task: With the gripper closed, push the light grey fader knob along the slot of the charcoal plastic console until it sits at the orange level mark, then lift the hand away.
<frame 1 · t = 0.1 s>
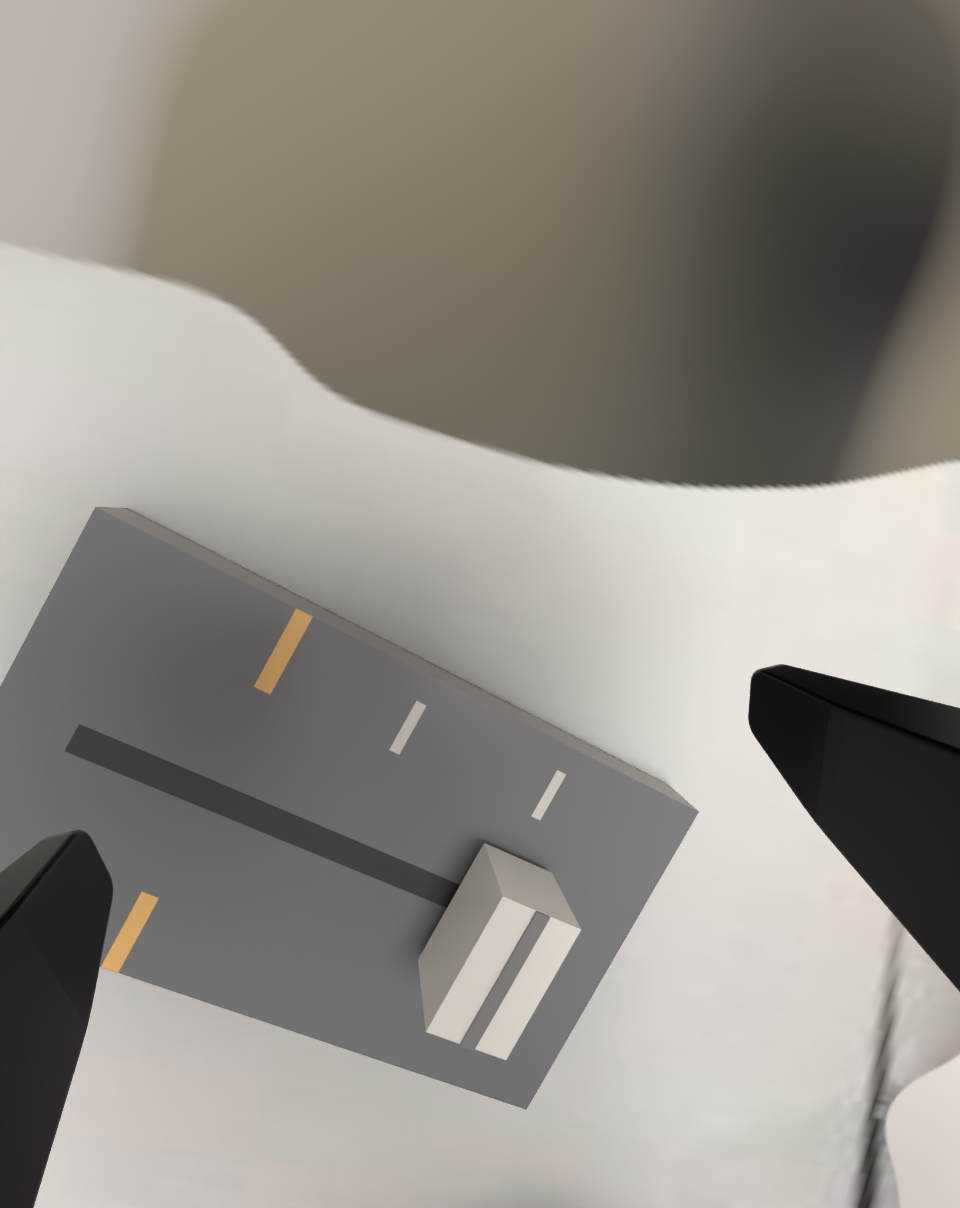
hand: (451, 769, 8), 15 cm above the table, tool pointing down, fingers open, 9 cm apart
fader knob: (494, 946, 21), point 5 cm above the table, slide at -6.0 cm
console: (343, 815, 24), on the table
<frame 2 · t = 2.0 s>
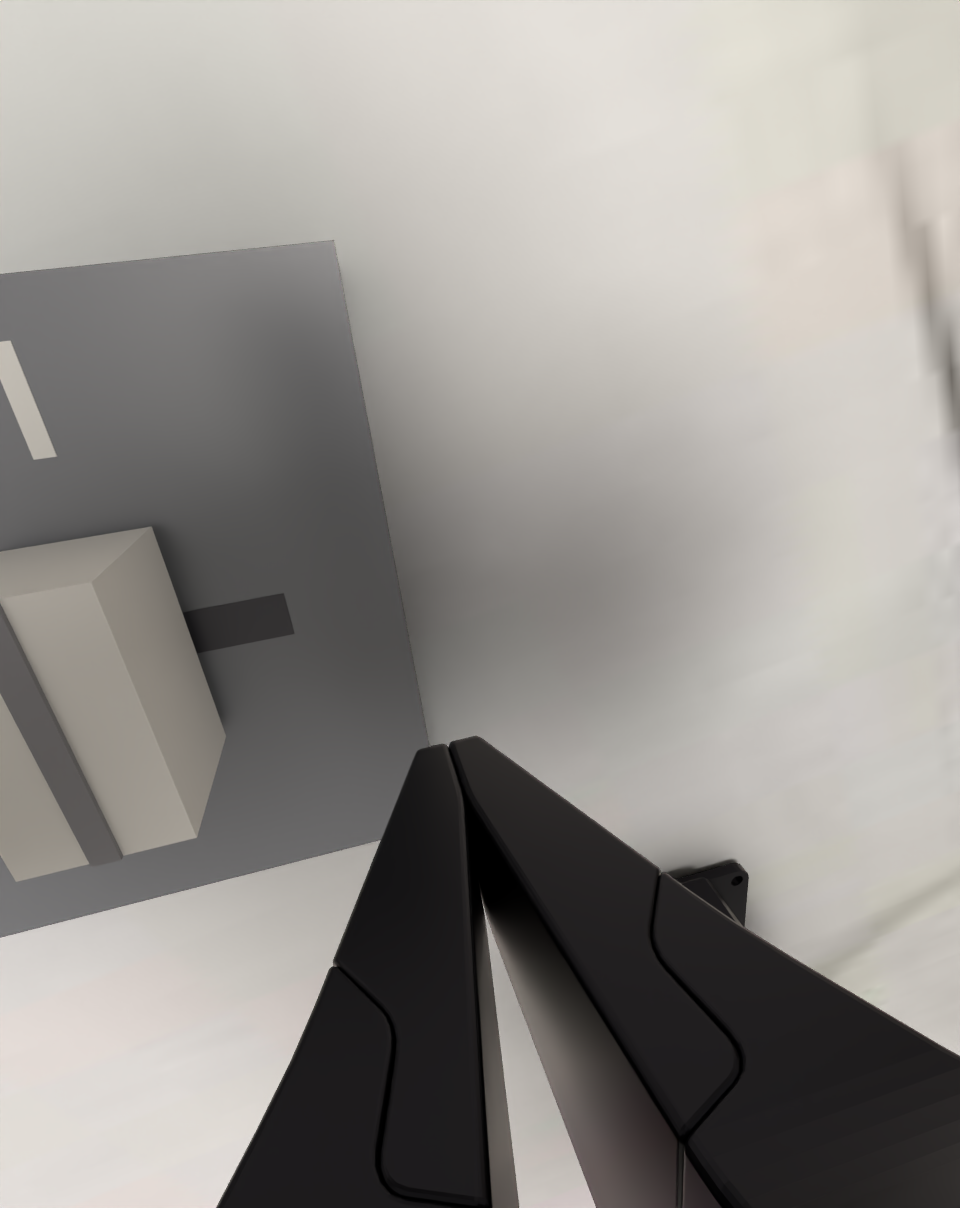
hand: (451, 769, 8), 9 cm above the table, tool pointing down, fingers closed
fader knob: (86, 694, 11), point 5 cm above the table, slide at -6.0 cm
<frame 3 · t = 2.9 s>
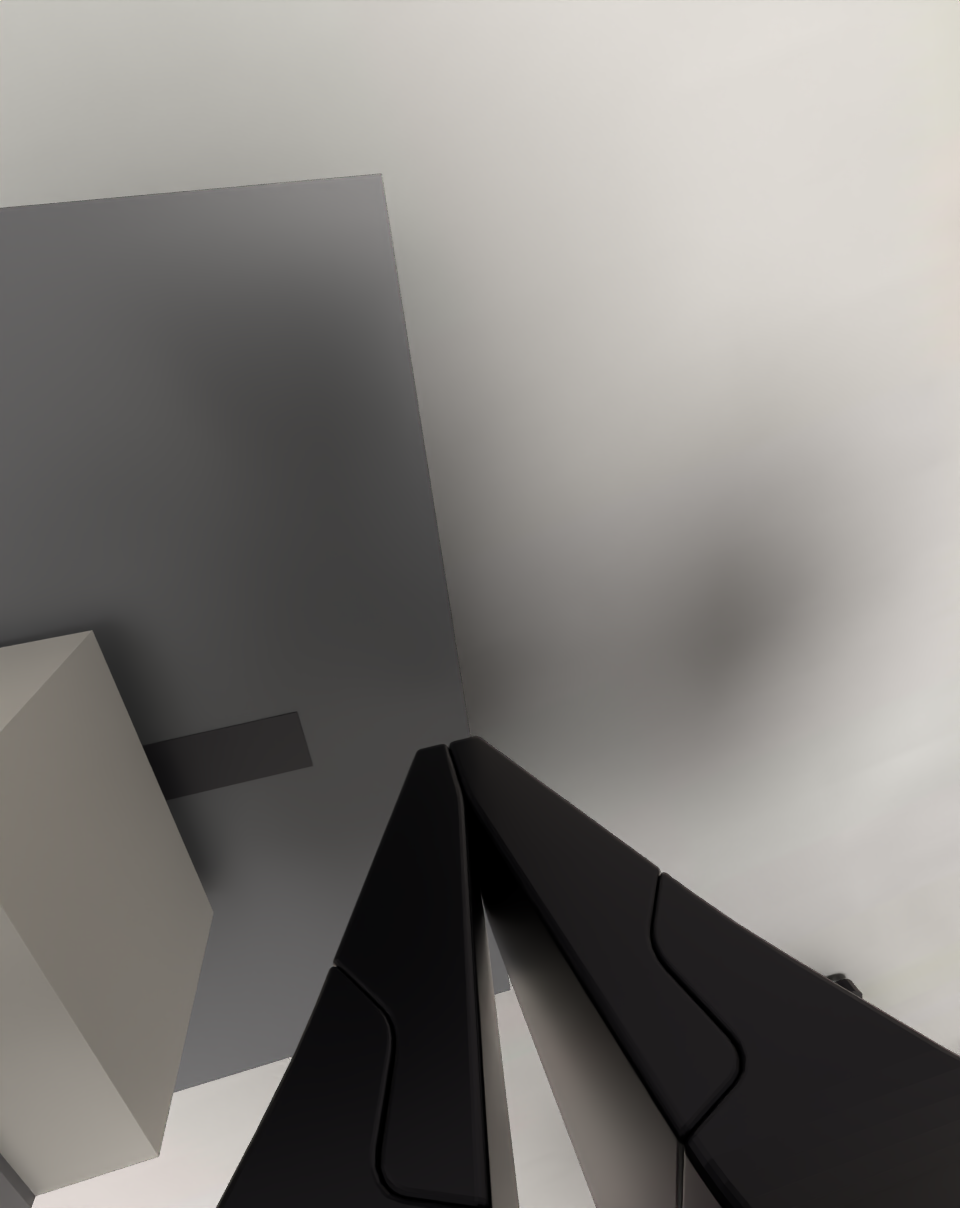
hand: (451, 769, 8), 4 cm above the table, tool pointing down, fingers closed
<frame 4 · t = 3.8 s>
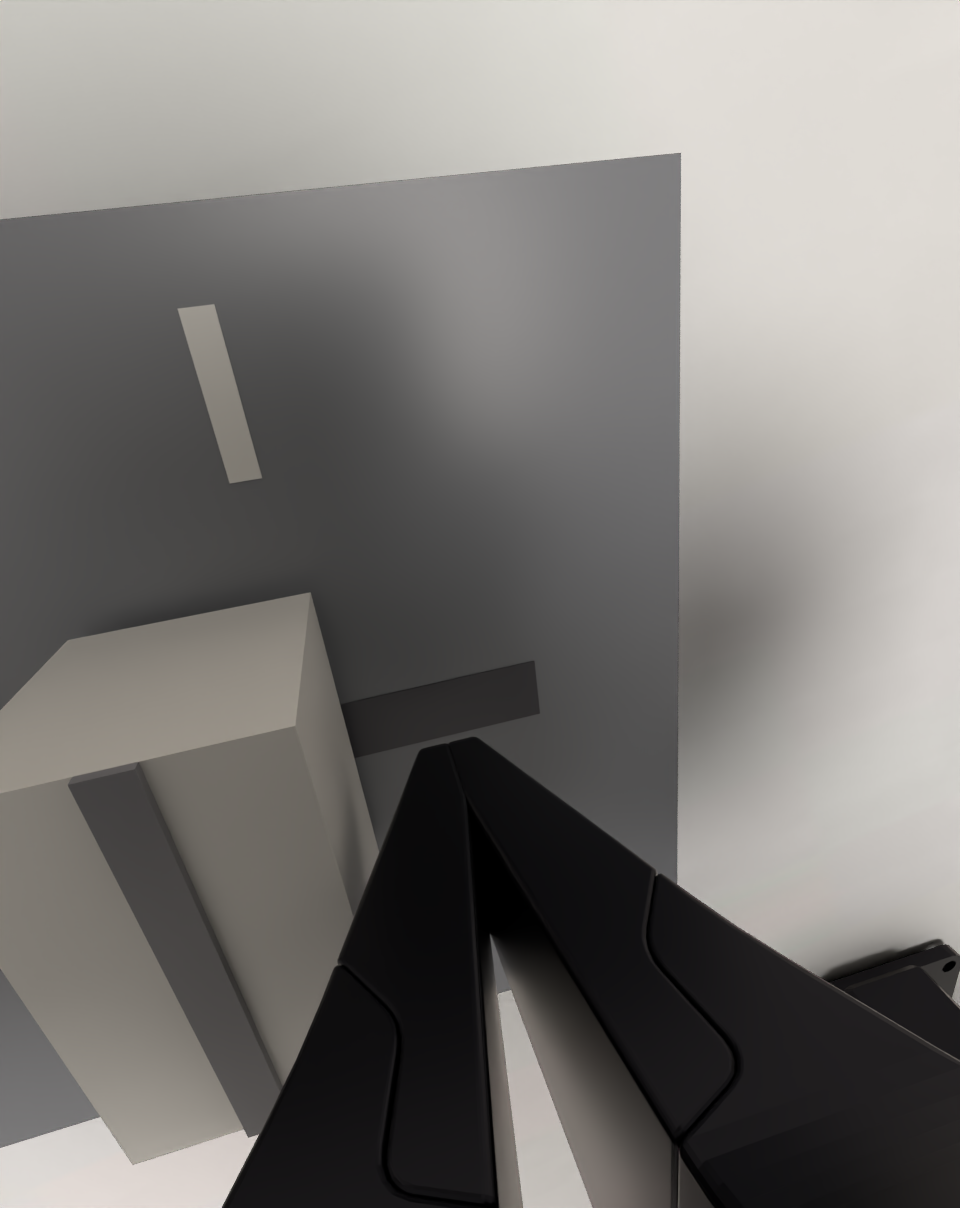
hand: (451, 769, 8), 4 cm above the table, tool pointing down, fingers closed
fader knob: (229, 855, 7), point 5 cm above the table, slide at -5.0 cm, touching gripper
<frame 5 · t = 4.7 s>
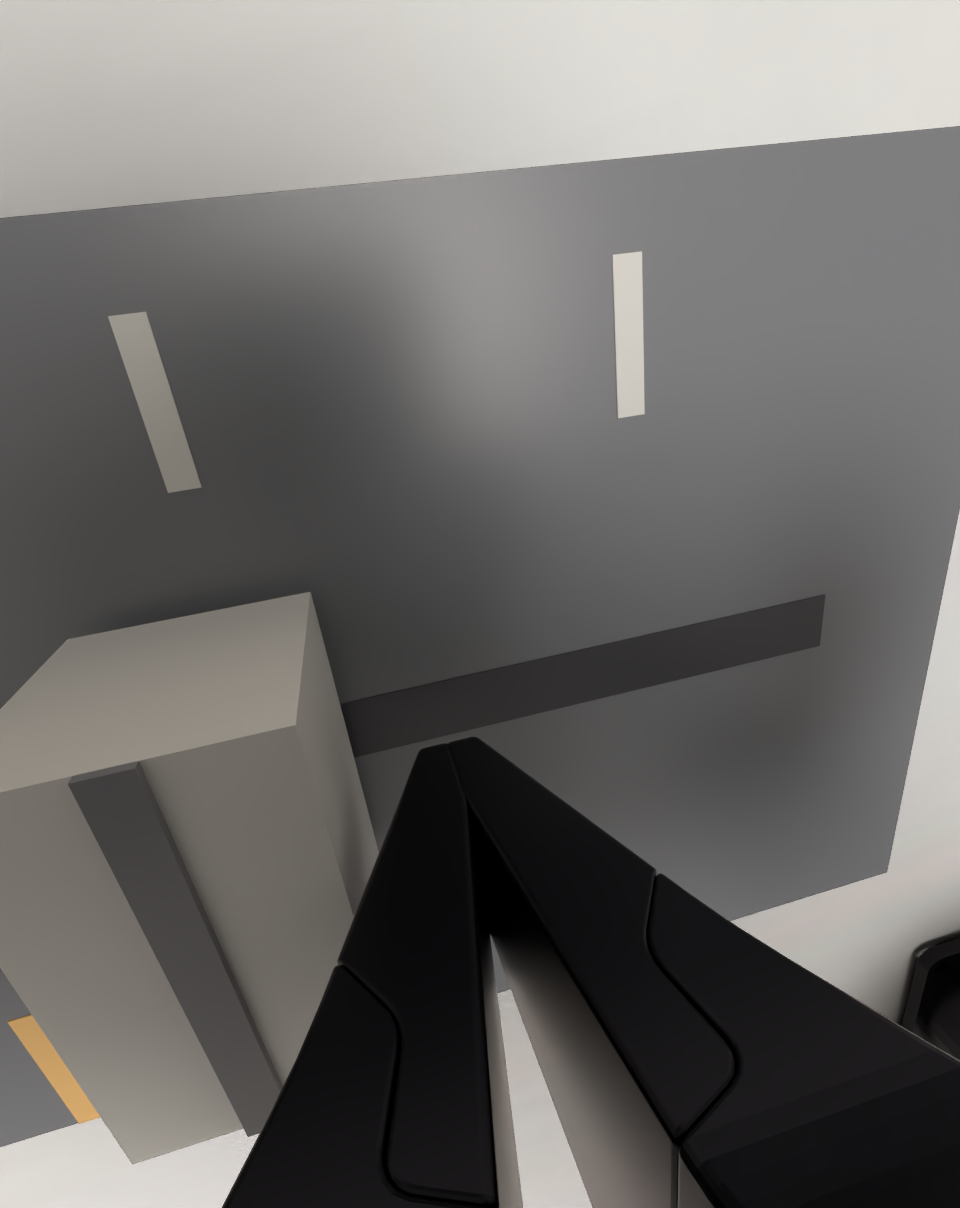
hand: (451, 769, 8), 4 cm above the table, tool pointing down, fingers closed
fader knob: (229, 854, 7), point 5 cm above the table, slide at 0.3 cm, touching gripper
console: (283, 671, 11), on the table
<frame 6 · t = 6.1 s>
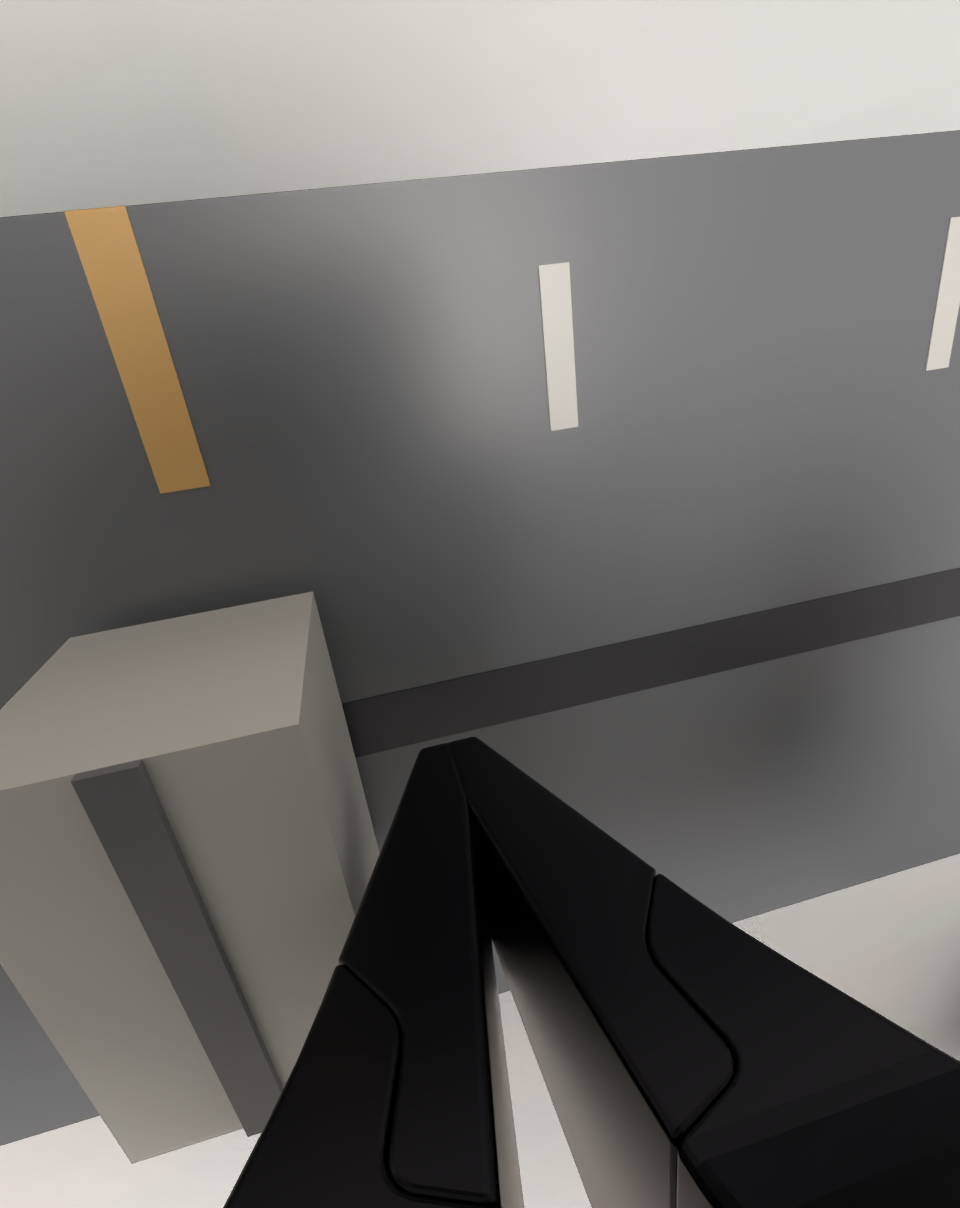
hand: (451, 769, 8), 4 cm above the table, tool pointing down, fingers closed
fader knob: (230, 853, 7), point 5 cm above the table, slide at 5.3 cm, touching gripper
console: (534, 618, 12), on the table
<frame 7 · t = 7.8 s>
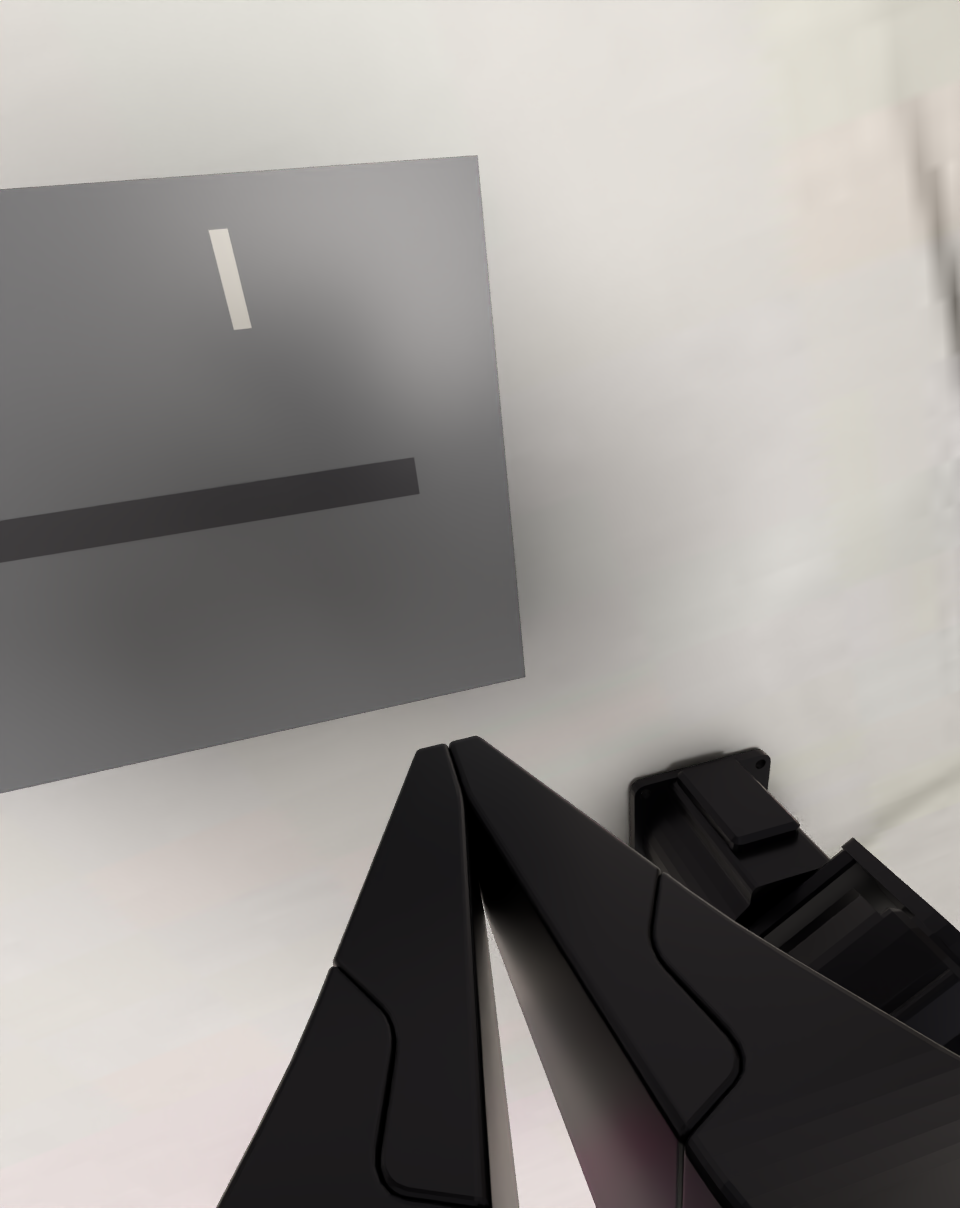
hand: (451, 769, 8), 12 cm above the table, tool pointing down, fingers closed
console: (73, 511, 17), on the table
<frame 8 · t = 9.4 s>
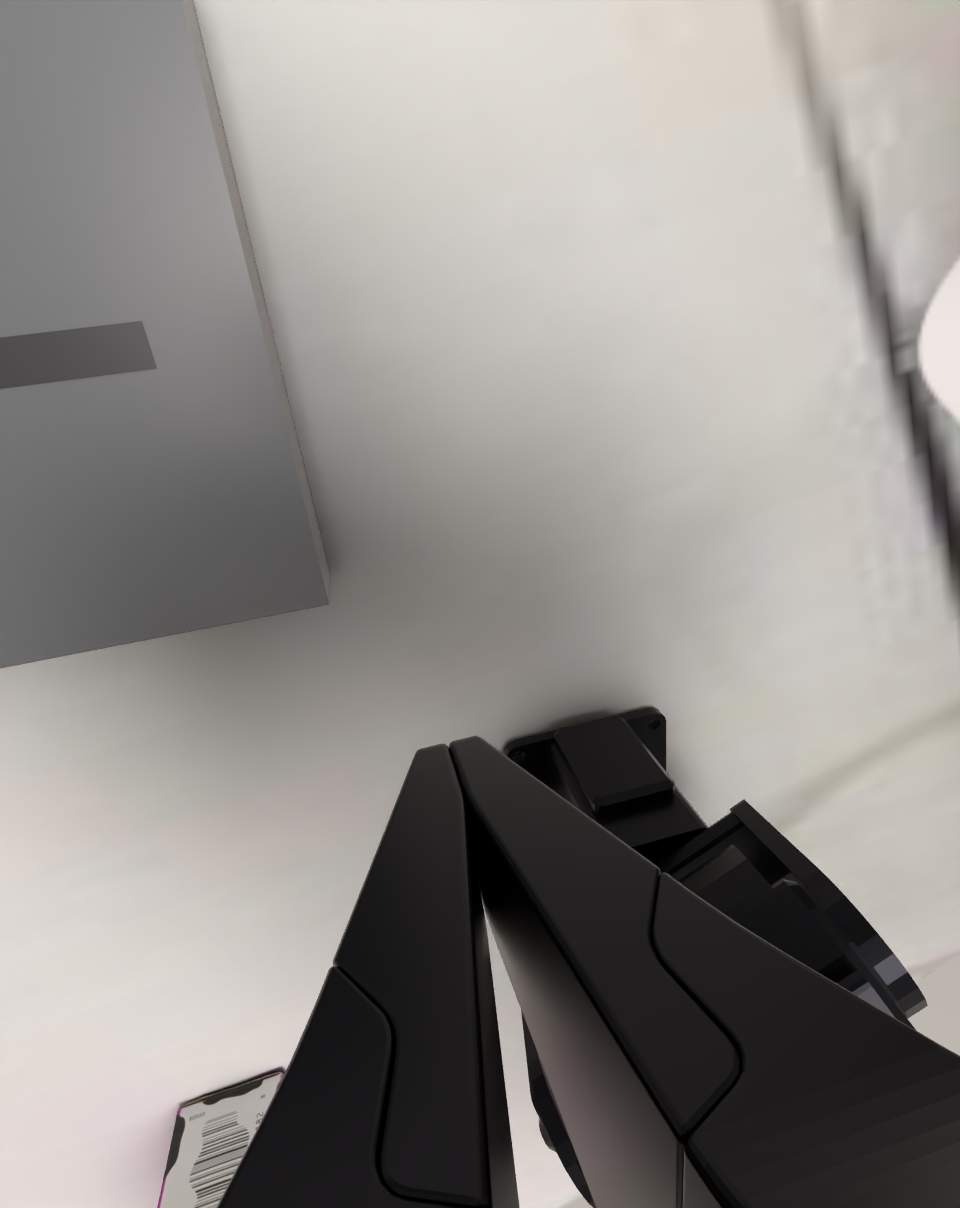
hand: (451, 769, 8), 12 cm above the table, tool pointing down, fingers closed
candy bar box: (271, 1143, 29), on the table
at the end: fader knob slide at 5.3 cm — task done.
